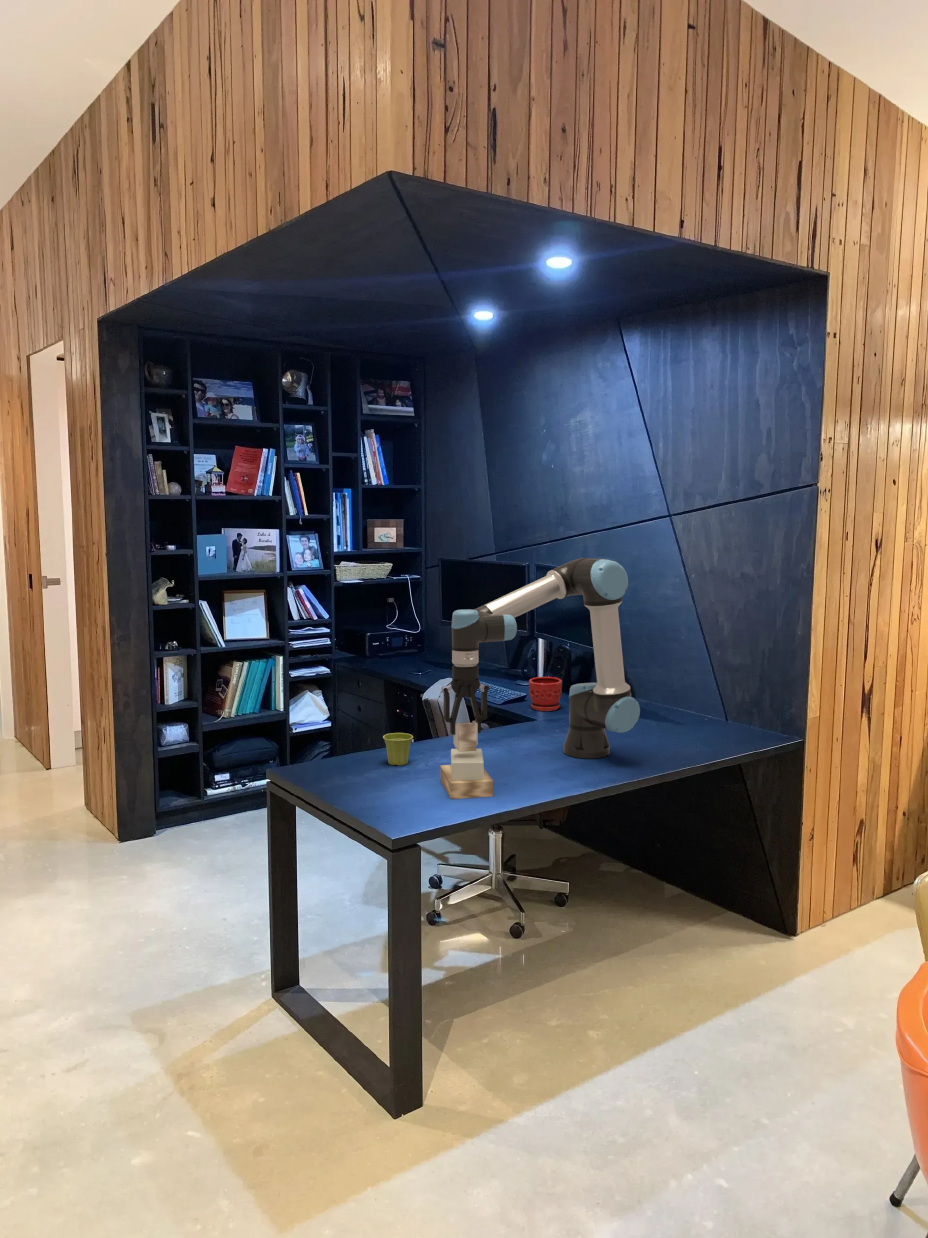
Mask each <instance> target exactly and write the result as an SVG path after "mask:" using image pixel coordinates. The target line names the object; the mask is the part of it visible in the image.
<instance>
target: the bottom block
mask: <svg viewBox="0 0 928 1238" xmlns="http://www.w3.org/2000/svg"><path fill="white" fill-rule="evenodd" d="M439 766H440V768H439V771H440V772H439V773H440V774H439V775H440V776H439V777H440V782H441V785H443V787H444V789H445V792H446V793H447V795H448V796H449V798H450V800H458V799H459V800H460V799H475V798H476V799H477V798H490V797H494V780H493V779H492V777H491V776H490V775H489V773H488V772H487V771H486V769H485V768H484V780H455V781H451V764H442V765H441V764H440V765H439Z"/></svg>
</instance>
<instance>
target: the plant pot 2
mask: <svg viewBox="0 0 928 1238" xmlns="http://www.w3.org/2000/svg"><path fill="white" fill-rule="evenodd" d="M562 683H563V680H562V679H560V678H558V677H555V676H554V677H553V676H537V677H532V678H530V679H529V680H528V691H529V697H530V700H531V703H530V706H531V708H532V709H534V710H536V711H541V712H551V711H556V710H558V709H559V708H560V706H561V704H560V703H559V702H560V699H561V696H562V693H563V691H562V690H563V684H562Z"/></svg>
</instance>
